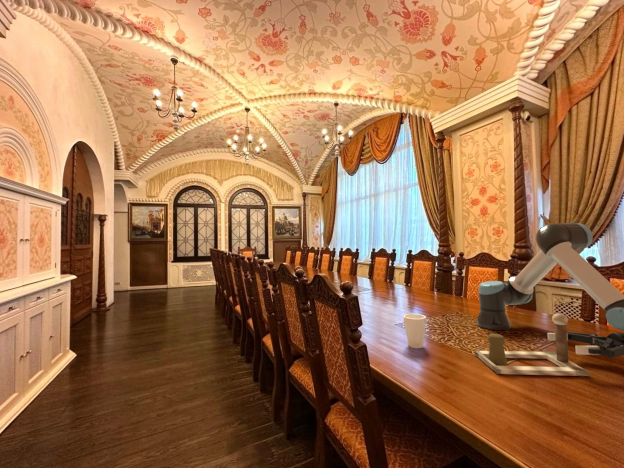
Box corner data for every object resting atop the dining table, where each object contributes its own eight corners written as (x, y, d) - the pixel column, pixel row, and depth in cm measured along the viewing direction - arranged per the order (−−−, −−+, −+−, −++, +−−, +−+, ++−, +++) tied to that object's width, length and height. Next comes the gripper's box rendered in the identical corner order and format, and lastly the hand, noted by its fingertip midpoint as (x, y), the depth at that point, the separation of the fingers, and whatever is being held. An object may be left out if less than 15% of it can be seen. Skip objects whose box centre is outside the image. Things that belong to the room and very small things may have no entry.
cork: (484, 361, 107) (482, 332, 107) (500, 360, 107) (498, 331, 107) (495, 368, 101) (493, 337, 101) (511, 367, 101) (509, 336, 101)
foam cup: (427, 343, 128) (426, 314, 128) (426, 350, 119) (425, 319, 120) (405, 341, 132) (404, 313, 132) (403, 348, 123) (402, 318, 124)
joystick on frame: (552, 355, 109) (549, 308, 110) (589, 376, 92) (585, 319, 93) (475, 354, 113) (472, 308, 114) (497, 373, 96) (494, 319, 97)
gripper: (669, 370, 86) (591, 368, 89) (598, 342, 111) (539, 341, 114) (667, 345, 86) (589, 344, 89) (596, 323, 111) (537, 322, 114)
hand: (561, 342), depth 102 cm, fingers open, 13 cm apart
